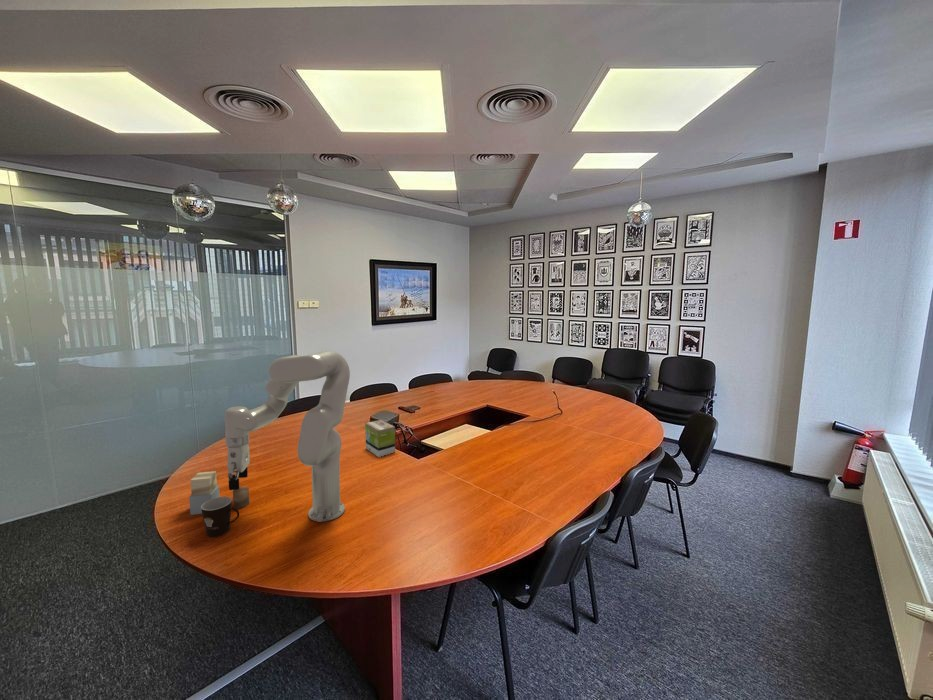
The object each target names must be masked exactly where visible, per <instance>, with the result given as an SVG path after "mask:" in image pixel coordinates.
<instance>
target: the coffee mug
mask: <svg viewBox="0 0 933 700" xmlns="http://www.w3.org/2000/svg"><path fill="white" fill-rule="evenodd" d="M232 505H233V498H232V497H229V496H220V497H218V498H214V499H211V500H208V501H206V502H205V503H203V504H202V505H201V510H202V514H201V515H202V518H203V522H204V527H205V532H206V536H207V537H208V538H217V537H220V536H224V535H225V534H227V533H228V532H229V531H230V529H231V524H233V522H236V521H237V520H238V519H239V517H240V512H239V509H237V508H234V507H232ZM232 511H234V512H236V517H235V518H233V520H231V517H232Z"/></svg>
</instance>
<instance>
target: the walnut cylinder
mask: <svg viewBox="0 0 933 700" xmlns="http://www.w3.org/2000/svg"><path fill="white" fill-rule="evenodd" d="M232 505H233V508H235V509H237V510H239V509H243V508H247V507H248V506H249V505H250V490H249V487H248V486H239V489H238V490H232Z"/></svg>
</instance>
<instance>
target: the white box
mask: <svg viewBox="0 0 933 700" xmlns="http://www.w3.org/2000/svg"><path fill="white" fill-rule="evenodd" d="M218 497H221V496H220V486H219V485H217V487H216V488H215V489H214V490H213V492H212V493H211V494H205V495H195V496H192V494H191V493H190V495H189V497H188V499H189V510H190V511H189V513H190V516H193V515H202V510H201V505H202V504H203V503H205V502H206V501H208V500H211V499H214V498H218Z"/></svg>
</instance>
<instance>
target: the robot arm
mask: <svg viewBox="0 0 933 700" xmlns="http://www.w3.org/2000/svg"><path fill="white" fill-rule="evenodd" d="M268 373H269V376H270V379H269V380H268V381H267V383H266V385H265V391H266V392H267V393H268V395H269V397H268V398H267V399H266V401H265V402H264V403H263V404H262V405H260V406H258V407H255V408H251V409H248V407H246V406H242V405H241V406H231V407H229V408H227V409H226V410H225V412H224V428H225V429H224V431H225V446H226V447H227V466H226V467H227V476H228V478H227V479H228V490H229V491H233V490H238V489H239V487H240V479H244V478H248V476H249V475H248V466H249V464H250V461H251V458H250V457H251V456H250V445H249V443H250V432H254V431H257V430H260V429H261V428H263V427H265V426H267V425H269V424H272V423H273V422H274V421H276V419H278V417H279V416H280V415H281V414H282V412H283V411H284V409H286V406H287V405H288V401H289V396H290V395H291V393H292V392H293V391H294V389H295V388H296V387H297V385H298V384H299V383H300V382H309V381H316V380H319V379H322V378H324V377H325V381H324V383H323V385H322V389H321V394H320V398H319V403H318V404H317V405H316V406H315V407H313V408H311V409H309V410H308V411H307V412H306V414H305V415H304V416H303V418H302V421H301V425H300V431H299V437H298V442H297V451H296V453H297V456H298V460H299V461H300V463H301V464H303V465H305V466H307V467H311V488H312V489H311V490H312V493H311V494H312V495H311V496H312V507H310V509H309V510H308V513H307V515H308V518H309V519H310V520H311V521H314V522H318V523H321V522H322V523H323V522H329V521H333V520H336V519H337V518H339V517H340V516H342V515H343V514H344V512H345V507H346V506H345V504H344V503H343V502H341V487H340V486H341V484H340V483H341V481H340V480H341V479H340V476H341V475H340V473H341V471H340V469H341V467H340V458H341V456H340V455H341V449H342V438H341V435H340V433H339V432H338V430H336V429H335V428H336V427H337V426H338V425H340V423H341V422H342V420H343V417H344V411H345V404H346V400H347V394H348V389H349V383H350V376H351V374H350V373H351V370H350V365H349V364H348V362H347V360H346V359H345V358H344V357H343V355H341V354H340V353H339V352H336V351H331V350H328V351H327V350H326V351H321V352H317V353H312V354H308V355H298V354H294V355H293V354H291V355H288V356H282V357H279V358H276V359H275V360H273V361H272V363H271V364H270V366H269V369H268Z"/></svg>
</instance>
